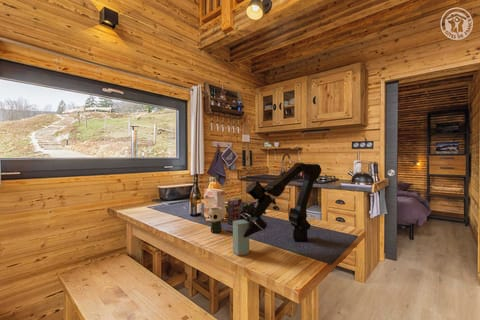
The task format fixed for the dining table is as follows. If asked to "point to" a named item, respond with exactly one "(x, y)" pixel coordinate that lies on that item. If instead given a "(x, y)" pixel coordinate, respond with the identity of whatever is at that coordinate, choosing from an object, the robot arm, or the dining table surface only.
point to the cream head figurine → (216, 218)
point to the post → (241, 254)
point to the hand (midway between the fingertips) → (239, 233)
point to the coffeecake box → (213, 200)
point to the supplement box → (233, 210)
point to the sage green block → (240, 236)
